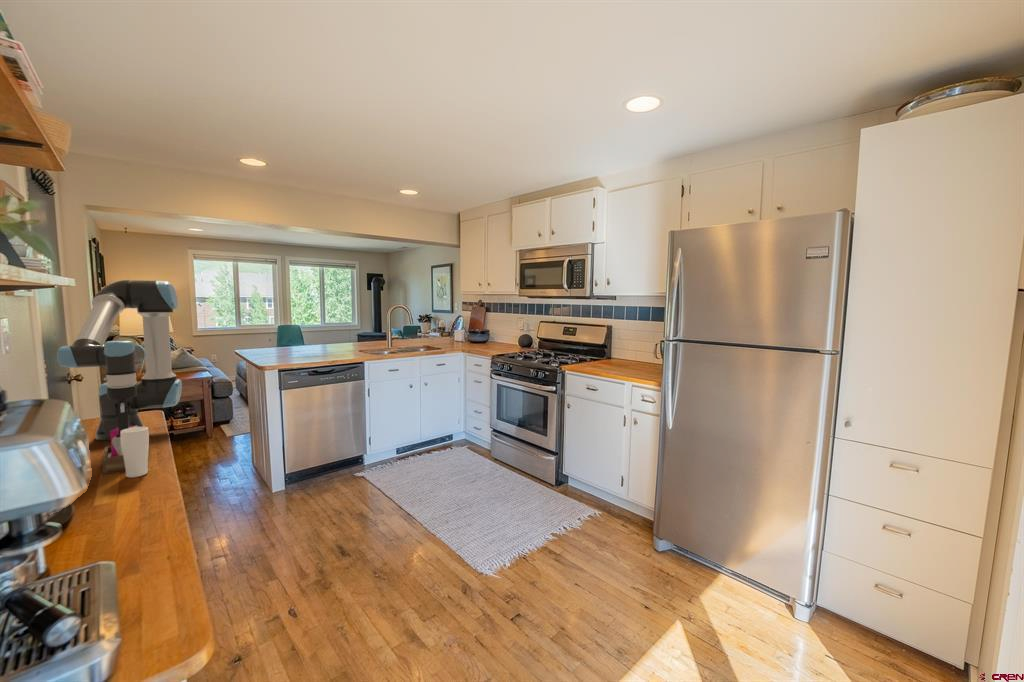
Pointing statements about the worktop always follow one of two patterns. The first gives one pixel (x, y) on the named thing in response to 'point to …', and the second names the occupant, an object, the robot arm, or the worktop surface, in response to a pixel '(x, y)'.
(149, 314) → the robot arm
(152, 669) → the worktop surface
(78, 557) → the worktop surface
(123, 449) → the white cup
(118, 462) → the crate
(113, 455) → the supplement box
